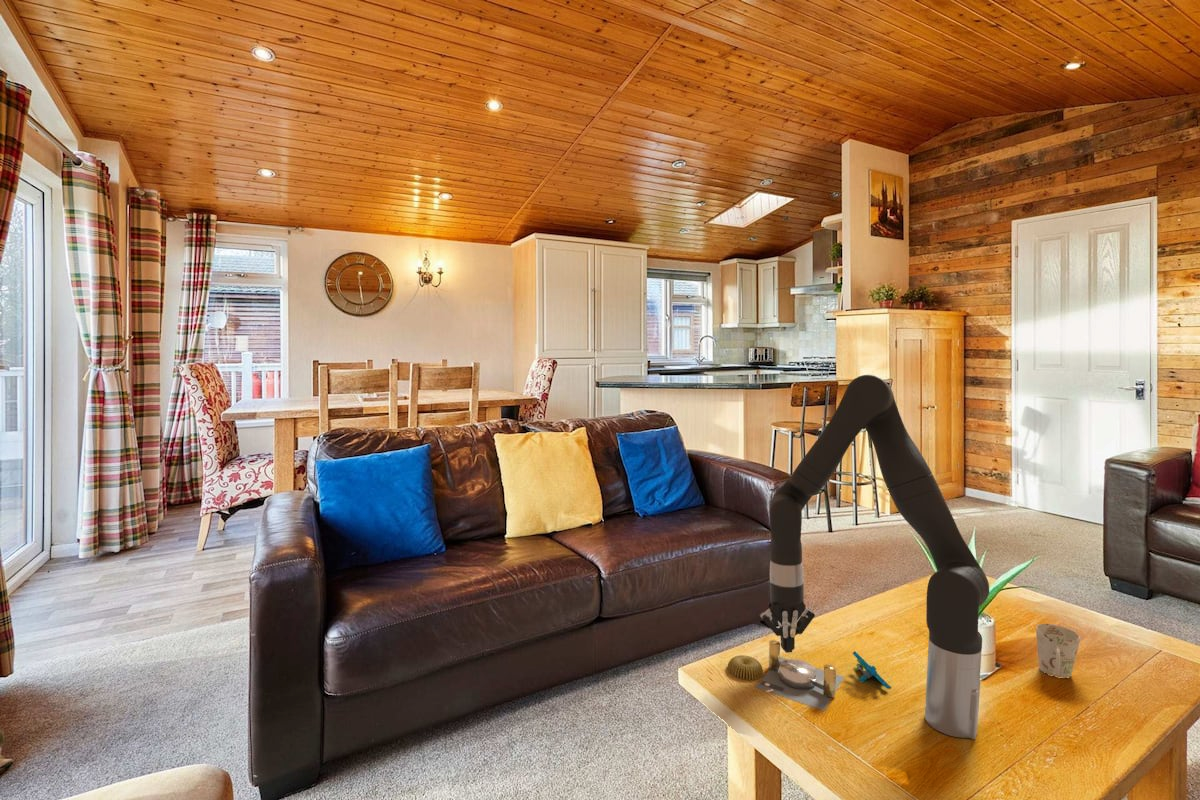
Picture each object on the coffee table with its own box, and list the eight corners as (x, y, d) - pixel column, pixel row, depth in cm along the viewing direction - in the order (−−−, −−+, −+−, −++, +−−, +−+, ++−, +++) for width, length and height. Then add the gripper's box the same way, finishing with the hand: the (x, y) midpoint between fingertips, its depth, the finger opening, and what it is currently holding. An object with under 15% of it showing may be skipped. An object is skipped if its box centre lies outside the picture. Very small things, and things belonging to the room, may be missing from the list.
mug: (1074, 669, 144) (1077, 629, 143) (1082, 695, 134) (1085, 651, 133) (1032, 659, 149) (1034, 620, 148) (1036, 683, 138) (1039, 641, 137)
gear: (900, 693, 131) (867, 659, 132) (881, 712, 131) (847, 678, 132) (880, 672, 142) (849, 641, 143) (862, 690, 142) (831, 659, 143)
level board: (845, 680, 139) (845, 673, 139) (823, 718, 125) (823, 711, 125) (781, 660, 148) (781, 654, 148) (754, 694, 134) (754, 687, 134)
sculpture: (769, 661, 140) (749, 674, 135) (769, 678, 141) (749, 691, 135) (741, 648, 146) (720, 660, 141) (740, 664, 146) (720, 676, 141)
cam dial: (843, 689, 132) (845, 663, 132) (824, 703, 127) (825, 676, 127) (779, 659, 145) (780, 635, 144) (759, 670, 140) (760, 646, 139)
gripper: (807, 571, 144) (808, 641, 146) (753, 575, 143) (754, 645, 145) (821, 583, 137) (821, 656, 138) (764, 587, 136) (765, 661, 137)
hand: (787, 650), depth 142 cm, fingers closed
